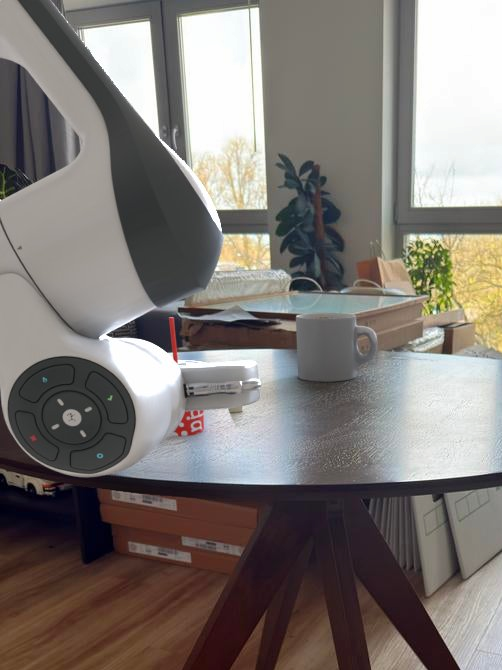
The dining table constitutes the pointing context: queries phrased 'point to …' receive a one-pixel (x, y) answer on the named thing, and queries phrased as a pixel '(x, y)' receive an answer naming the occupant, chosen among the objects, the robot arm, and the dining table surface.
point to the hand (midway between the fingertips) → (156, 383)
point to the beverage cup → (191, 419)
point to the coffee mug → (331, 346)
